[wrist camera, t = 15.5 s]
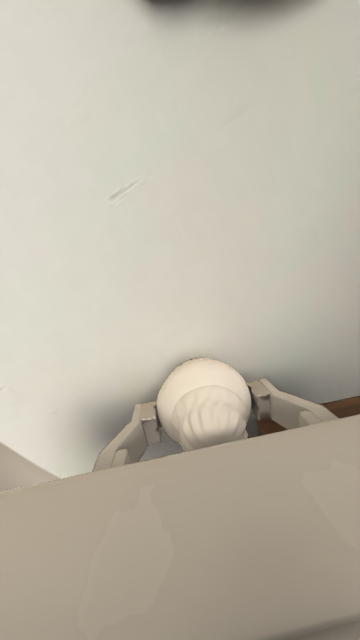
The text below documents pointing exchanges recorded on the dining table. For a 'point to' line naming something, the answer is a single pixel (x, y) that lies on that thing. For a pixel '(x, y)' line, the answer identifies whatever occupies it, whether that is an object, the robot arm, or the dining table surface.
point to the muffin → (204, 404)
